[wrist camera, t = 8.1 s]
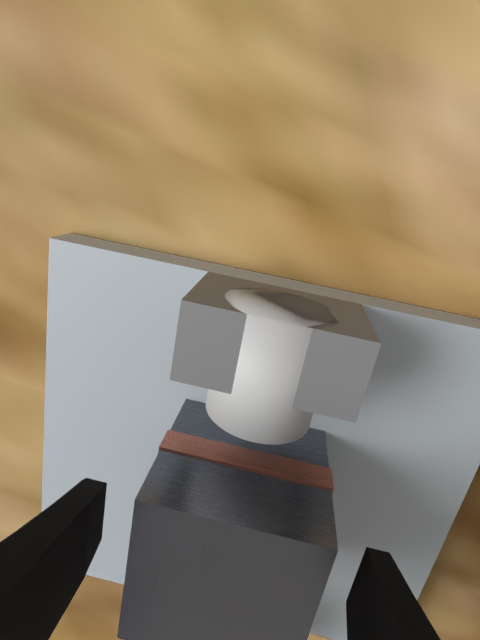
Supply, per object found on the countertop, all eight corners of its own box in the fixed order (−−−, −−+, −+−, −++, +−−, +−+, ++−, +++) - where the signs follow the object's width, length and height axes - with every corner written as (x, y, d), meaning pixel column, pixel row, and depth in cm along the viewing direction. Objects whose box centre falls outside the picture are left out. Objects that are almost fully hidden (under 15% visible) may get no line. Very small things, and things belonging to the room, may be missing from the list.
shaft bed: (385, 623, 17) (414, 767, 13) (56, 538, 18) (-17, 647, 14) (514, 326, 13) (621, 398, 8) (70, 233, 13) (-32, 257, 9)
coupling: (293, 540, 15) (292, 686, 10) (166, 508, 15) (115, 638, 11) (326, 430, 13) (341, 548, 9) (184, 396, 13) (132, 497, 9)
